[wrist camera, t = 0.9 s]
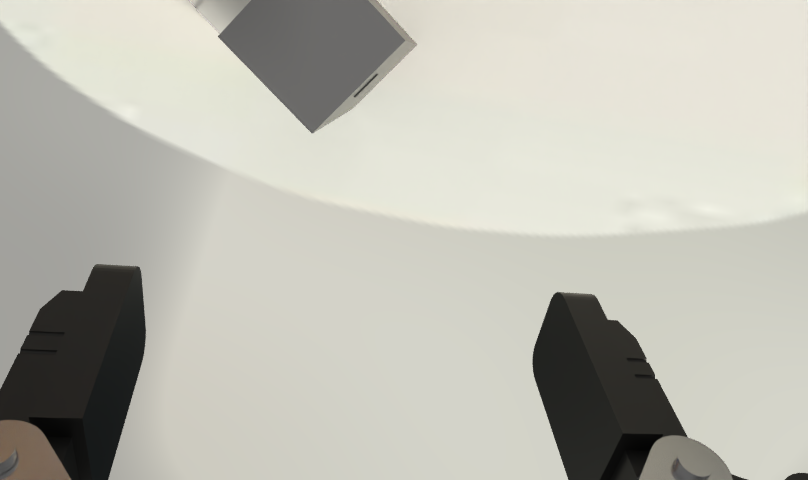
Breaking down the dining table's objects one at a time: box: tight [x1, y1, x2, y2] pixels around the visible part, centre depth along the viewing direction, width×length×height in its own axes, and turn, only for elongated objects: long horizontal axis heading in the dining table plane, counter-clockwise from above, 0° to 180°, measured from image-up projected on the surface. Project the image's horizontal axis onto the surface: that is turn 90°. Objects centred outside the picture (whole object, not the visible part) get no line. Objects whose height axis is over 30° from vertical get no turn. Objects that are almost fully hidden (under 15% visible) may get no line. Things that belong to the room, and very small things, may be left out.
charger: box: [218, 0, 417, 133], centre depth 29 cm, size 4×7×11 cm
